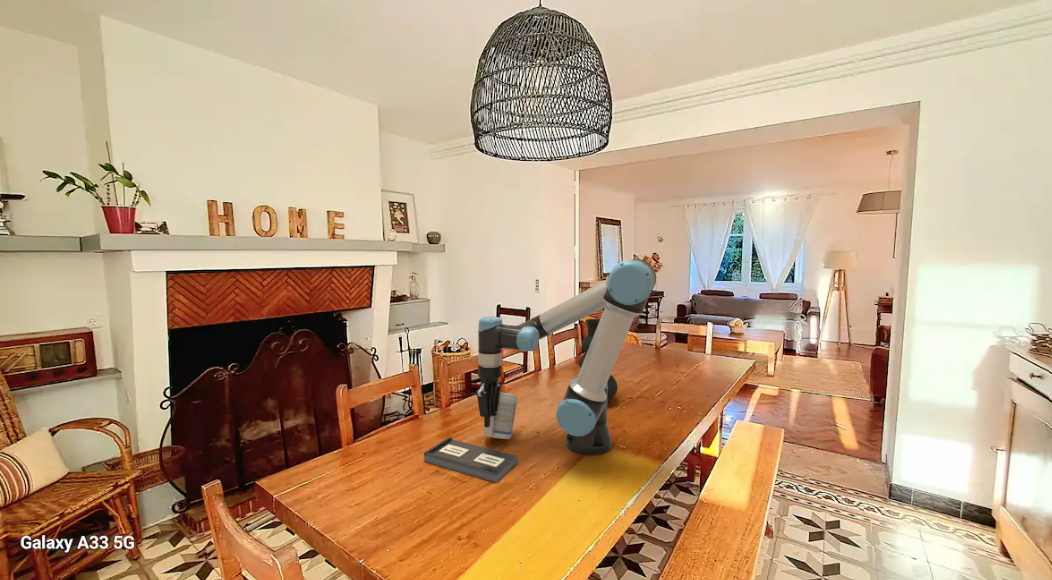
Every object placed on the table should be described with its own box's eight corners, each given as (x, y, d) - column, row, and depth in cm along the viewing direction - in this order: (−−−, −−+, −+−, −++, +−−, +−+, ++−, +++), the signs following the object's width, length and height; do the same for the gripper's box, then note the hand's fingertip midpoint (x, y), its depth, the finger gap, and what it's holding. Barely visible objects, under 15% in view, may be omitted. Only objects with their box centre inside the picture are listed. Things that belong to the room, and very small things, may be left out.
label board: (518, 462, 133) (518, 453, 133) (496, 482, 122) (496, 473, 122) (450, 444, 145) (450, 436, 145) (424, 461, 134) (423, 452, 134)
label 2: (504, 460, 131) (504, 458, 131) (496, 467, 126) (496, 466, 126) (482, 454, 135) (482, 452, 135) (473, 461, 130) (473, 459, 130)
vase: (623, 399, 188) (625, 319, 184) (607, 413, 172) (609, 326, 169) (584, 391, 198) (585, 315, 194) (565, 404, 182) (566, 321, 178)
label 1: (469, 450, 137) (469, 449, 137) (459, 457, 132) (459, 456, 132) (448, 445, 141) (448, 444, 141) (438, 451, 136) (438, 450, 136)
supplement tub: (516, 440, 146) (523, 396, 149) (491, 438, 141) (499, 392, 144) (501, 435, 154) (508, 393, 157) (477, 433, 149) (485, 389, 152)
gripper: (490, 359, 148) (489, 426, 150) (468, 367, 137) (468, 440, 139) (509, 361, 145) (508, 430, 147) (489, 371, 133) (488, 445, 135)
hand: (488, 435), depth 143 cm, fingers closed
